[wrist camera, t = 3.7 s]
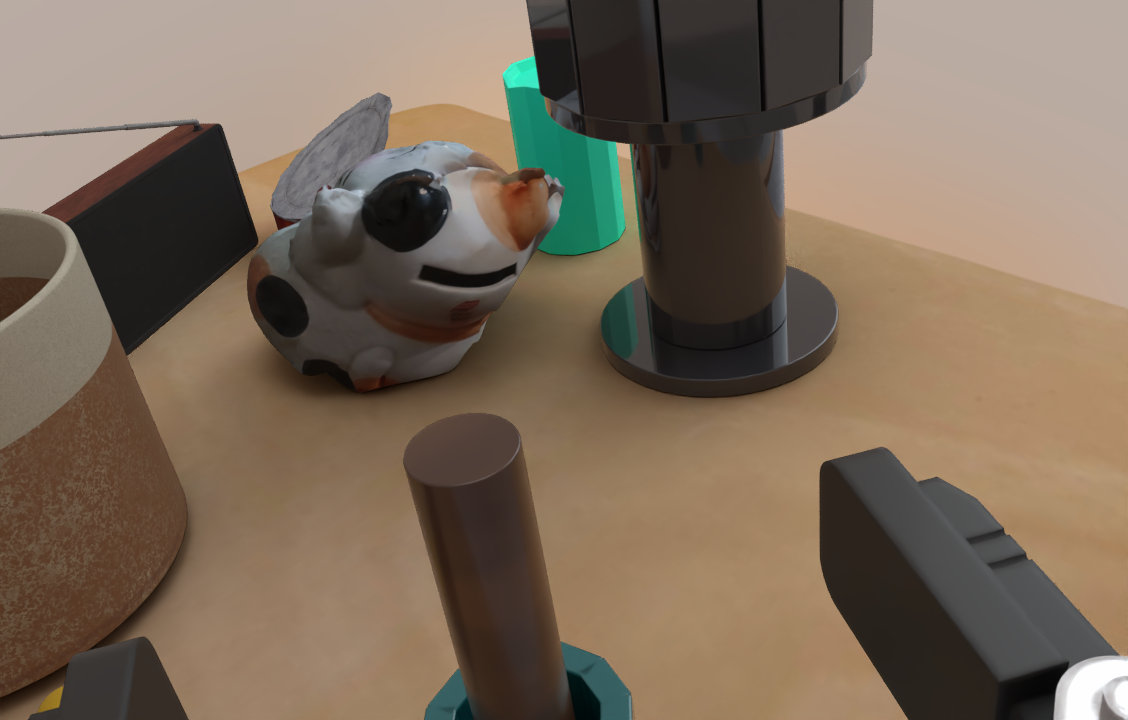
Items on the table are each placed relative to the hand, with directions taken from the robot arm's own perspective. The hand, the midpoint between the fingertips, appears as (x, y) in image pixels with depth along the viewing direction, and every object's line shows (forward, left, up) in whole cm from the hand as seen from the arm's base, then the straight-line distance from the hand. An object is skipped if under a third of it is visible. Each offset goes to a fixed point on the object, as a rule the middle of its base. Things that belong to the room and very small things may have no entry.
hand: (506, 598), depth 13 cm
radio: (+48, -26, -20) cm, 58 cm away
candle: (+28, -43, -20) cm, 55 cm away
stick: (+6, -6, -20) cm, 21 cm away
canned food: (+43, -39, -20) cm, 61 cm away
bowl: (+15, -35, -20) cm, 43 cm away
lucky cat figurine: (+30, -30, -20) cm, 47 cm away
